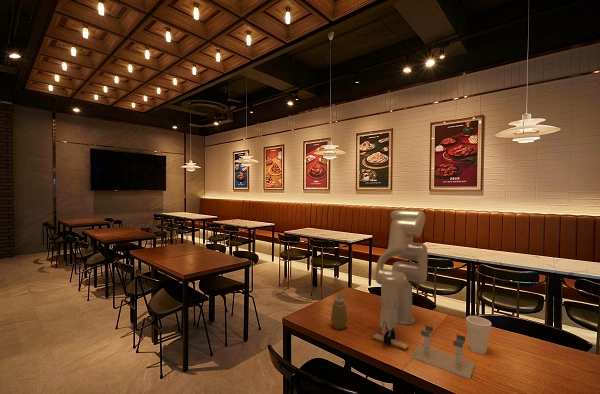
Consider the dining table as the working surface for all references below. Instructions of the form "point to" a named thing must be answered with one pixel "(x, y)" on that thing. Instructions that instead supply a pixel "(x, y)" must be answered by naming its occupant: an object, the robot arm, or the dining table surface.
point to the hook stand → (444, 355)
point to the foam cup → (478, 333)
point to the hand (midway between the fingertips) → (389, 341)
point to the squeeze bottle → (339, 313)
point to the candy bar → (393, 342)
